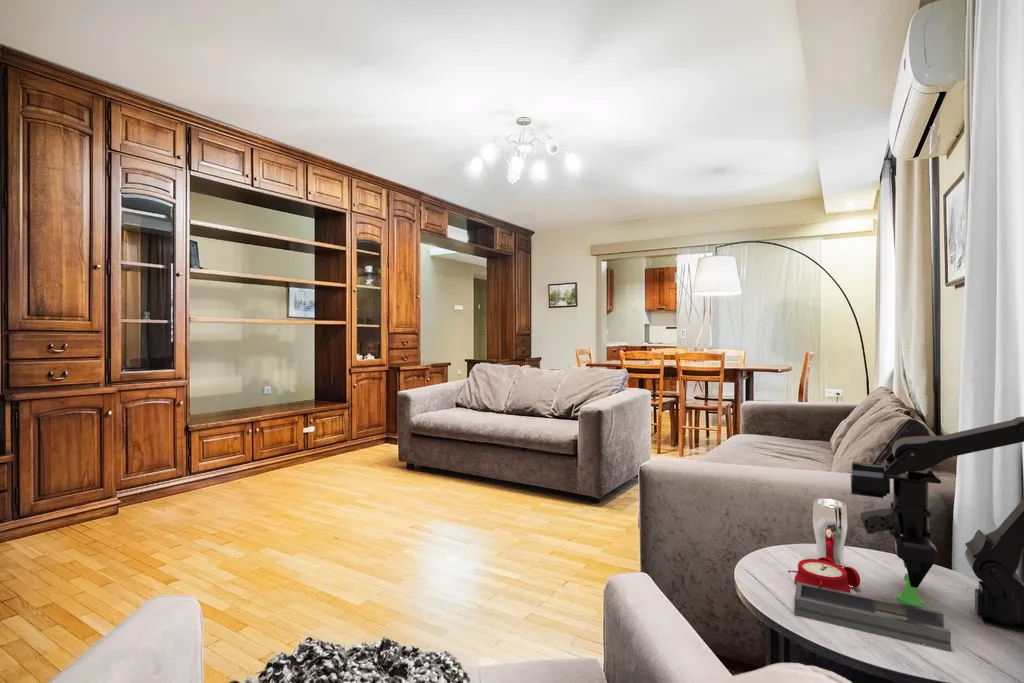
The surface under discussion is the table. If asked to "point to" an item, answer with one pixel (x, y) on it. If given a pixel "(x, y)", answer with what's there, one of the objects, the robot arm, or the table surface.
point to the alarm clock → (826, 574)
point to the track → (873, 615)
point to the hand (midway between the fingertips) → (910, 577)
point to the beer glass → (830, 528)
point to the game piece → (909, 595)
